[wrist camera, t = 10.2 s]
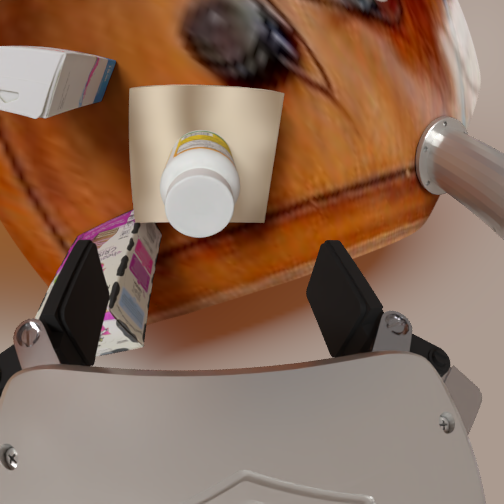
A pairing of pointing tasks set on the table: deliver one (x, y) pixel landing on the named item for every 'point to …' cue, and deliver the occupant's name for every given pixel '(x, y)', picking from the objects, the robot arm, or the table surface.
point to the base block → (211, 119)
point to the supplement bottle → (200, 184)
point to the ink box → (50, 80)
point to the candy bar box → (123, 279)
